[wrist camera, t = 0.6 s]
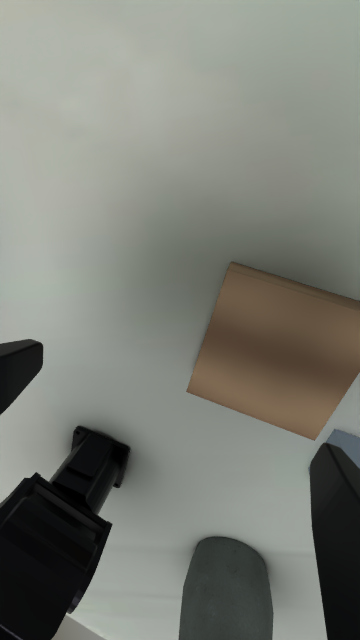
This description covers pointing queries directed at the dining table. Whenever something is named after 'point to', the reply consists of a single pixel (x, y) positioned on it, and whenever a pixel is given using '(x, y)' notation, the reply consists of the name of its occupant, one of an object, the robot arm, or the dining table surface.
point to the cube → (346, 445)
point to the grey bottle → (226, 594)
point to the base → (278, 350)
